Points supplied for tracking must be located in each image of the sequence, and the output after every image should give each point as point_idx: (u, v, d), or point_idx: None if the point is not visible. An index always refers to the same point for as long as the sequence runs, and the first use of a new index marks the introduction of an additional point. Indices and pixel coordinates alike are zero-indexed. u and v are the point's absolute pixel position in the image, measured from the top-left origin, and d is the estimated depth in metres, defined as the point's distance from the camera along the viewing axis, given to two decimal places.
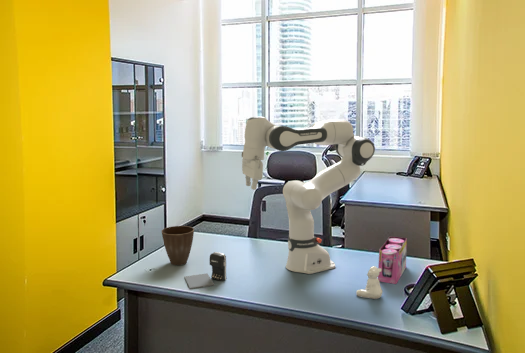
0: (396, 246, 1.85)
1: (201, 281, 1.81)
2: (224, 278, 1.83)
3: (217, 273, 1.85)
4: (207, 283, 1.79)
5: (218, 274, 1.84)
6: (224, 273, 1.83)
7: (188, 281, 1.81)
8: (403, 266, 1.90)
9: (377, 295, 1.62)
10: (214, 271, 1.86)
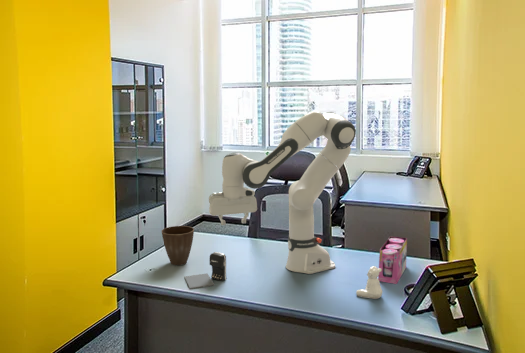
0: (396, 246, 1.85)
1: (201, 281, 1.81)
2: (224, 278, 1.83)
3: (217, 273, 1.85)
4: (207, 283, 1.79)
5: (218, 274, 1.84)
6: (224, 273, 1.83)
7: (188, 281, 1.81)
8: (403, 266, 1.90)
9: (377, 295, 1.62)
10: (214, 271, 1.86)
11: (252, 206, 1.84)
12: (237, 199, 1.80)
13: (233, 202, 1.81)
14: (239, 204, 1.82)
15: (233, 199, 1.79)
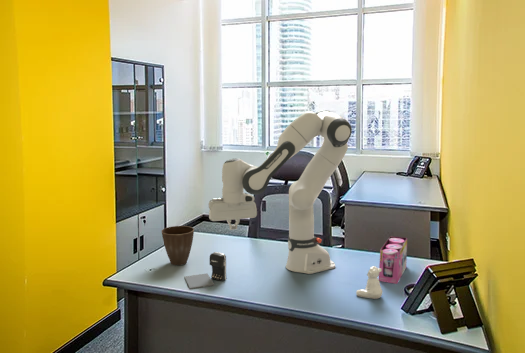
0: (397, 246, 1.85)
1: (201, 281, 1.81)
2: (224, 278, 1.83)
3: (217, 273, 1.85)
4: (207, 283, 1.79)
5: (218, 274, 1.84)
6: (224, 273, 1.83)
7: (188, 281, 1.81)
8: (404, 266, 1.90)
9: (377, 295, 1.62)
10: (214, 271, 1.86)
11: (251, 212, 1.84)
12: (237, 205, 1.80)
13: (233, 208, 1.81)
14: (238, 209, 1.82)
15: (233, 205, 1.79)
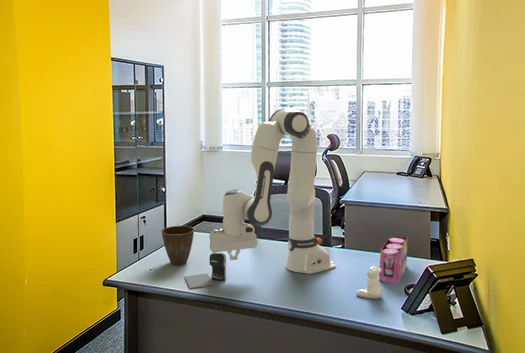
0: (397, 246, 1.85)
1: (201, 281, 1.81)
2: (224, 278, 1.83)
3: (217, 273, 1.85)
4: (207, 283, 1.79)
5: (218, 274, 1.84)
6: (224, 273, 1.83)
7: (188, 281, 1.81)
8: (404, 266, 1.90)
9: (377, 295, 1.62)
10: (214, 271, 1.86)
11: (252, 242, 1.86)
12: (237, 236, 1.82)
13: (233, 238, 1.83)
14: (239, 240, 1.84)
15: (233, 236, 1.81)
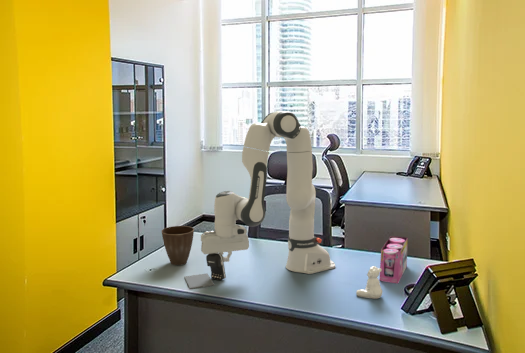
0: (397, 246, 1.86)
1: (201, 281, 1.81)
2: (224, 277, 1.83)
3: (216, 273, 1.84)
4: (207, 283, 1.79)
5: (217, 273, 1.84)
6: (223, 272, 1.83)
7: (188, 281, 1.81)
8: (404, 265, 1.90)
9: (377, 295, 1.62)
10: (213, 271, 1.85)
11: (244, 244, 1.85)
12: (229, 238, 1.81)
13: (225, 240, 1.82)
14: (231, 242, 1.83)
15: (225, 238, 1.80)
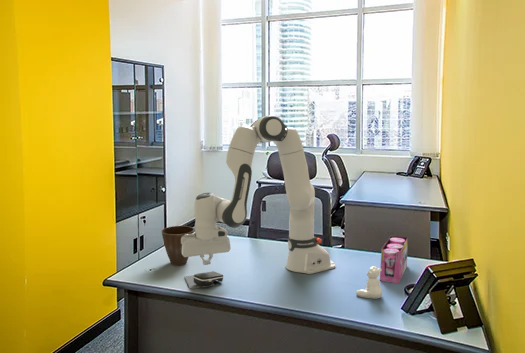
0: (398, 245, 1.86)
1: None
2: (222, 278, 1.80)
3: None
4: None
5: None
6: (218, 278, 1.79)
7: (188, 281, 1.81)
8: (404, 265, 1.91)
9: (377, 295, 1.62)
10: None
11: (225, 247, 1.82)
12: (209, 240, 1.78)
13: (206, 243, 1.79)
14: (211, 244, 1.80)
15: (205, 240, 1.78)
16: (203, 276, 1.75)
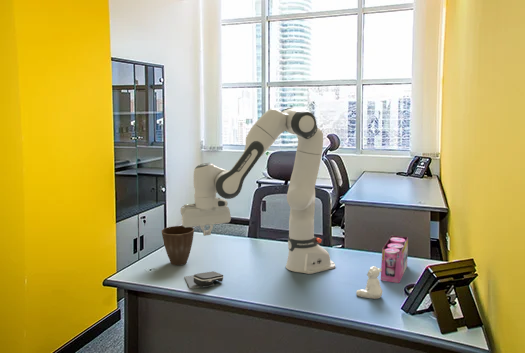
0: (398, 245, 1.86)
1: None
2: (222, 278, 1.80)
3: None
4: None
5: None
6: (218, 278, 1.79)
7: (188, 281, 1.81)
8: (405, 265, 1.91)
9: (377, 295, 1.62)
10: None
11: (225, 217, 1.81)
12: (209, 210, 1.77)
13: (206, 213, 1.79)
14: (212, 214, 1.80)
15: (205, 210, 1.77)
16: (203, 276, 1.75)
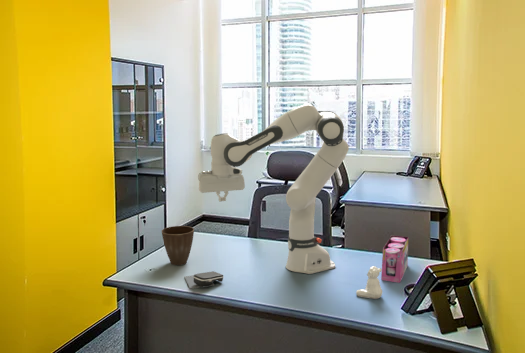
0: (399, 245, 1.86)
1: None
2: (222, 278, 1.80)
3: None
4: None
5: None
6: (218, 278, 1.79)
7: (188, 281, 1.81)
8: (405, 265, 1.91)
9: (377, 295, 1.62)
10: None
11: (239, 184, 1.93)
12: (225, 177, 1.89)
13: (221, 180, 1.90)
14: (227, 181, 1.91)
15: (221, 177, 1.89)
16: (203, 276, 1.75)
